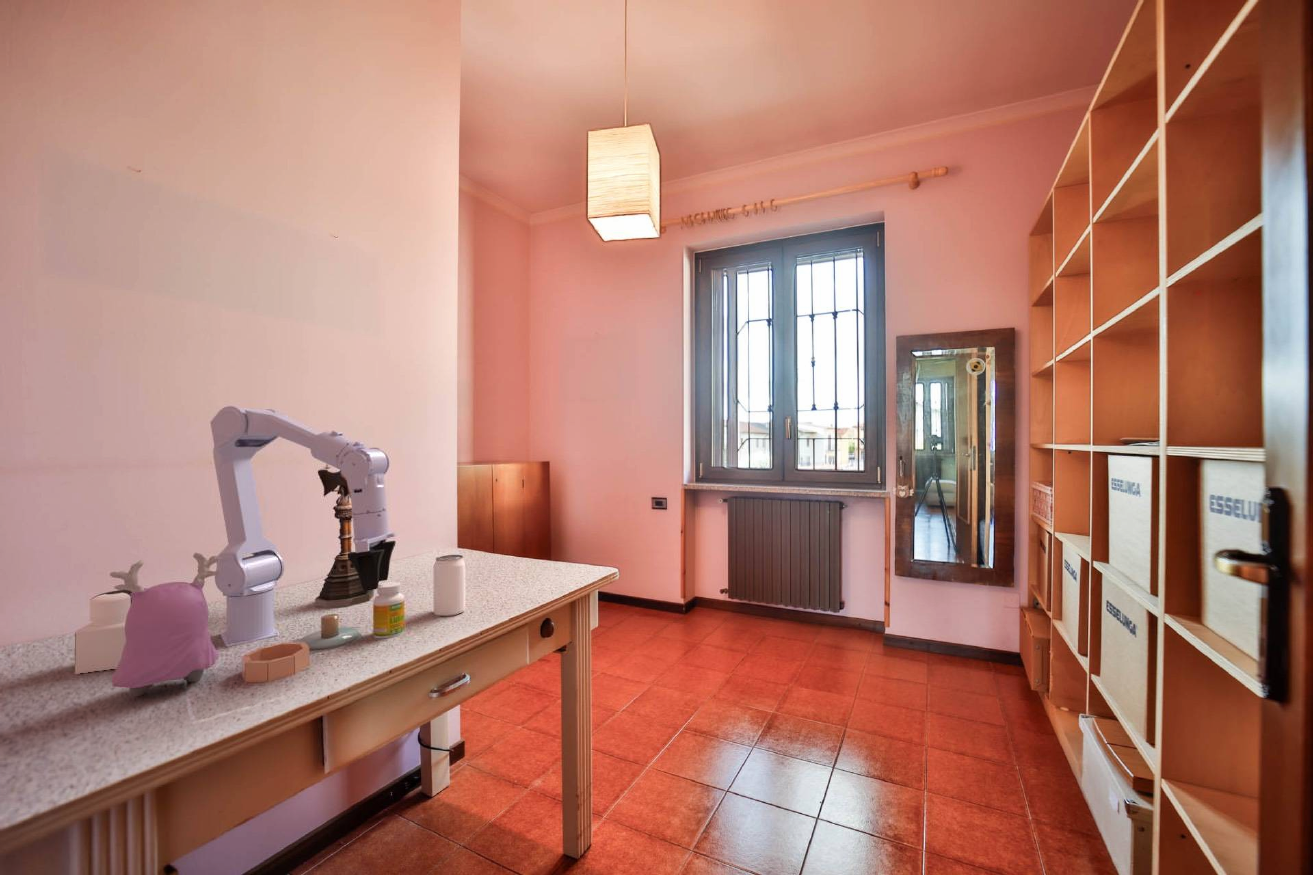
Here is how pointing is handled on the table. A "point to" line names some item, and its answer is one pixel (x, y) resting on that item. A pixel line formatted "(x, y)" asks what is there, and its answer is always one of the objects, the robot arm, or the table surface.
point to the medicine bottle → (103, 633)
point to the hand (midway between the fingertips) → (376, 585)
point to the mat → (358, 639)
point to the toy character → (165, 631)
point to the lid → (330, 634)
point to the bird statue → (343, 576)
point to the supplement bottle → (388, 611)
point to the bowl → (275, 661)
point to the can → (449, 585)
